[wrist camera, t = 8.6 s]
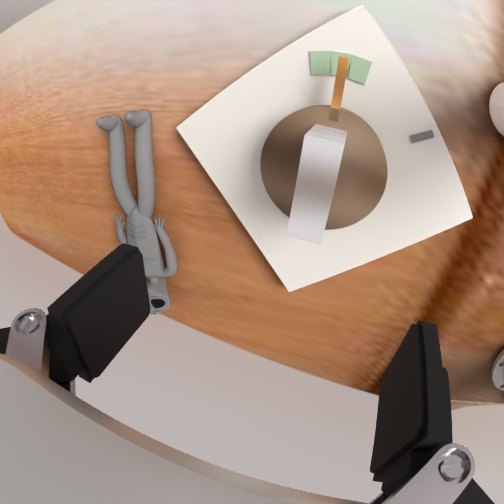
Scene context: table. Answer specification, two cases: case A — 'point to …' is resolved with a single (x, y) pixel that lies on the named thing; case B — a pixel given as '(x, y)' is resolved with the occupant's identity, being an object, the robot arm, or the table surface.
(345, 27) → the white square board
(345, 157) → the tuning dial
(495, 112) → the white cup
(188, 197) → the table surface
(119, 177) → the alien figure
